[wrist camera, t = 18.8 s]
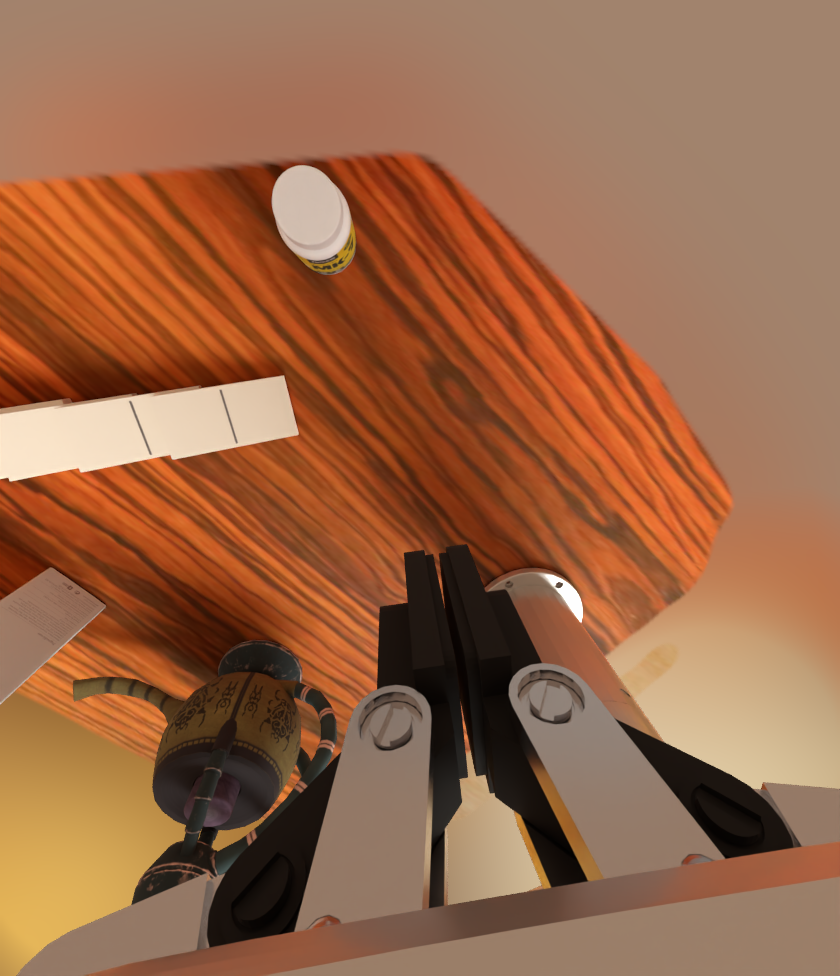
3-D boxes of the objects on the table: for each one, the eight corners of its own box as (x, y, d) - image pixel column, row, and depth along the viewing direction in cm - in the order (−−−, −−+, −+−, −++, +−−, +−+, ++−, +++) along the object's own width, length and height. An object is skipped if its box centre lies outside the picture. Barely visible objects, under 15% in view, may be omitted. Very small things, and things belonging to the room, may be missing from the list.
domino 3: (284, 375, 32) (148, 396, 30) (298, 434, 34) (172, 459, 32) (283, 375, 34) (154, 395, 31) (298, 431, 36) (177, 455, 33)
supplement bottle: (320, 288, 32) (297, 269, 24) (282, 230, 30) (245, 189, 22) (369, 252, 31) (363, 221, 23) (333, 191, 30) (313, 136, 22)
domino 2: (198, 386, 32) (51, 409, 29) (217, 445, 34) (80, 472, 31) (200, 385, 34) (61, 407, 31) (219, 441, 35) (88, 467, 32)
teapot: (330, 721, 48) (282, 1036, 26) (105, 693, 44) (-174, 1038, 22) (350, 642, 44) (314, 934, 22) (107, 604, 40) (-229, 913, 18)
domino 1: (131, 394, 32) (-24, 418, 29) (154, 453, 34) (10, 481, 31) (136, 393, 33) (-11, 415, 30) (158, 449, 35) (21, 476, 32)
